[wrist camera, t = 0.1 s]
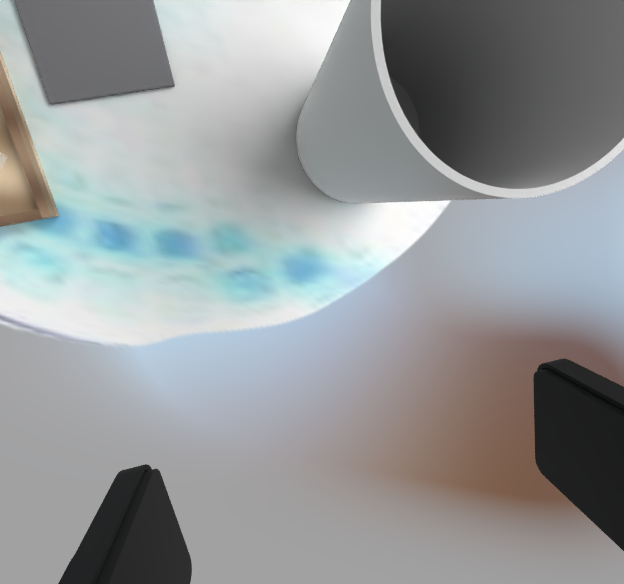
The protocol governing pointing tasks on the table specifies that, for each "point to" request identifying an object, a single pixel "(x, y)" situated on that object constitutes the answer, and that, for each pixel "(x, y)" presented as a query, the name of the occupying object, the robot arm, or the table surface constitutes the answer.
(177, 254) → the table surface
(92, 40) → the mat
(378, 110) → the cylinder vase
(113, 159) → the table surface
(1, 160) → the letter block
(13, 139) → the tray board
